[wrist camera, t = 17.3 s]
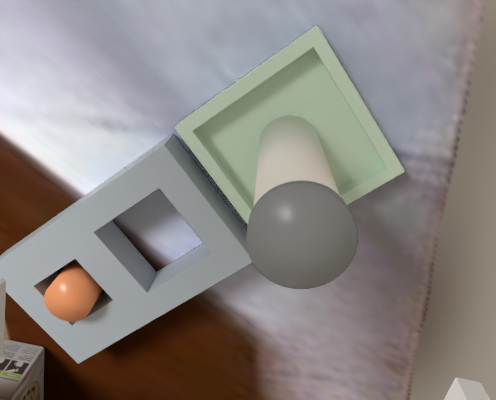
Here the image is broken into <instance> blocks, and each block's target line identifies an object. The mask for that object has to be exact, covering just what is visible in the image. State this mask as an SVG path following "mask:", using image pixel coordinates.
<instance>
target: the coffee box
mask: <svg viewBox="0 0 496 400" xmlns="http://www.w3.org/2000/svg"><path fill="white" fill-rule="evenodd" d="M43 395H44V347H42V346H37V345H32V344H27V343H22V342H17V341H12V340H7V339H4V348H3V357H2V358H1V359H0V400H43Z"/></svg>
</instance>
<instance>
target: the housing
mask: <svg viewBox="0 0 496 400" xmlns="http://www.w3.org/2000/svg"><path fill="white" fill-rule="evenodd" d="M158 188H160V190H161V191H162V192H163V193H164V195H165V196H166V197H167V198H168V200H169V201H170V202H171V203H172V205H173V206H174V207H175V208H176V210H177V211H178V212H179V213H180V215H181V216H182V217H183V218H184V220H185V221H186V222H187V223H188V225H189V226H190V227H191V228H192V230H193V231H194V232H195V233H196V235H197V236H198V237H199V238H200V240H201V241H202V242H203V244H201V245H199V246H198V247H196V248H195V249H193V250H191V251H190V252H188V253H186V254H185V255H183V256H182V257H180V258H178V259H177V260H175V261H173V262H172V263H170V264H168V265H167V266H165V267H164V268H162V269H160V270H159V271H157V272H156V271H155V270H154V268H153V267H152V266H151V265H150V264H149V263H148V261H147V260H146V259H145V258H144V257H143V256H142V255H141V253H140V252H139V251H138V250H137V249H136V248H135V246H134V245H133V244H132V243H131V242H130V241H129V239H128V238H127V237H126V236H125V235H124V234H123V232H122V231H121V230H120V229H119V228H118V227H117V225H116V224H115V223H114V222H113V221H112V219H114V218H115V217H117V216H118V215H120V214H121V213H123V212H124V211H126V210H127V209H129V208H130V207H132V206H133V205H135V204H136V203H138V202H139V201H141V200H142V199H144V198H145V197H147V196H148V195H150V194H151V193H153V192H154V191H155V190H157V189H158ZM246 235H247V230H246V229H245V228H244V226H243V225H242V224H241V222H240V221H239V220H238V218H237V217H236V216H235V214H234V213H233V212H232V210H231V209H230V208H229V206H228V205H227V204H226V202H225V201H224V200H223V199H222V197H221V196H220V195H219V193H218V192H217V191H216V189H215V188H214V187H213V185H212V184H211V183H210V181H209V180H208V179H207V177H206V176H205V175H204V173H203V172H202V171H201V169H200V168H199V167H198V166H197V164H196V163H195V162H194V160H193V159H192V158H191V156H190V155H189V154H188V152H187V151H186V150H185V148H184V147H183V146H182V144H181V143H180V142H179V140H178V139H177V138H176V137H175V135H174V134H172V135H170V136H169V137H168V138H166V139H165V140H163V141H162V142H161V143H159V144H158V145H156V146H155V147H153V148H152V149H151V150H149V151H148V152H146V153H145V154H143V155H142V156H141V157H139V158H138V159H136V160H135V161H133V162H132V163H131V164H129V165H128V166H126V167H125V168H124V169H122V170H121V171H119V172H118V173H116V174H115V175H114V176H112V177H111V178H109V179H108V180H106V181H105V182H104V183H102V184H101V185H99V186H98V187H96V188H95V189H94V190H92V191H91V192H89V193H88V194H86V195H85V196H84V197H82V198H81V199H79V200H78V201H77V202H75V203H74V204H72V205H71V206H69V207H68V208H67V209H65V210H64V211H62V212H61V213H59V214H58V215H57V216H55V217H54V218H52V219H51V220H49V221H48V222H47V223H45V224H44V225H42V226H41V227H39V228H38V229H37V230H35V231H34V232H32V233H31V234H30V235H28V236H27V237H25V238H24V239H22V240H21V241H20V242H18V243H17V244H15V245H14V246H12V247H11V248H10V249H8V250H7V251H5V252H4V253H3V254H2V255H1V256H0V278H1V279H6V292H7V293H8V294H9V295H10V296H11V297H12V298H13V299H14V300H15V301H16V302H17V303H18V304H19V305H20V306H21V307H22V308H23V309H24V310H25V311H26V312H27V313H28V314H29V315H30V316H31V317H32V318H33V319H34V320H35V321H36V322H37V323H38V324H39V325H40V326H41V327H42V328H43V329H44V330H45V331H46V332H47V333H48V334H49V335H50V336H51V337H52V338H53V339H54V340H55V341H56V342H57V343H58V344H59V345H60V346H61V347H62V348H63V349H64V350H65V351H66V352H67V353H68V354H69V355H70V356H71V357H72V358H73V359H74V360H75V361H76V362H77V363H78V364H79V363H80V362H82V361H84V360H85V359H87V358H89V357H91V356H92V355H94V354H96V353H98V352H99V351H101V350H103V349H104V348H106V347H108V346H110V345H111V344H113V343H115V342H116V341H118V340H120V339H122V338H123V337H125V336H127V335H129V334H130V333H132V332H134V331H135V330H137V329H139V328H141V327H142V326H144V325H146V324H147V323H149V322H151V321H153V320H154V319H156V318H158V317H160V316H161V315H163V314H165V313H166V312H168V311H170V310H172V309H173V308H175V307H177V306H178V305H180V304H182V303H184V302H185V301H187V300H189V299H190V298H192V297H194V296H196V295H197V294H199V293H201V292H203V291H204V290H206V289H208V288H209V287H211V286H213V285H215V284H216V283H218V282H220V281H221V280H223V279H225V278H227V277H228V276H230V275H232V274H234V273H235V272H237V271H239V270H240V269H242V268H244V267H246V266H247V265H249V264H251V263H252V261H251V259H250V257H249V254H248V250H247V244H246ZM74 259H76V260H77V261H78V262H79V263H80V264H81V266H82V267H83V268H84V269H85V270H86V271H87V272H88V273H89V274H90V275H91V276H92V278H93V279H94V280H95V281H96V282H97V283H98V284H99V285H100V286H101V287H102V288H103V290H104V291H105V292H104V293H102V294H101V295H99V297H98V299H97V300H96V302H95V304H94V305H93V307H92V309H91V310H90V312H89V314H88V315H87V316H86V317H85V318H84V319H82V320H79V321H74V322H69V321H64V320H61V319H59V318H57V317H55V316H54V315H53V314H51V313H50V311H49V310H48V309H47V307H46V305H45V302H44V295H45V292H46V290H47V289H48V287H49V286H50V285H51V284H52V282H53V281H54V280H55V279H56V277H57V276H58V275H59V274H58V273H57V272H56V271H57V270H59V269H60V268H62V267H63V266H65V265H66V264H68V263H69V262H71V261H72V260H74Z"/></svg>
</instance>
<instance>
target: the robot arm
mask: <svg viewBox="0 0 496 400" xmlns="http://www.w3.org/2000/svg"><path fill="white" fill-rule="evenodd" d="M5 292H6V279H1V278H0V359H1V358H2V357H3V348H4V320H5ZM444 400H490V398H489V397H488V395H487V393H486V391H485V389H484V388H483V386H482V384H481V383H480V382H476V381H471V380H466V379H462V378H457V377H456V378H455V380H454V382H453V383H452V385H451V387H450V389H449V391H448V393H447V395H446V396H445V398H444Z"/></svg>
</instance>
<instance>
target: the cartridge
mask: <svg viewBox="0 0 496 400" xmlns="http://www.w3.org/2000/svg"><path fill="white" fill-rule="evenodd" d="M357 243H358V233H357V227H356V224H355V221H354V219H353V216H352V214H351V211H350V209H349V207H348V205H347V204H346V202H345V201H344V199H343V198H342V197H341V196H340V194H339V191H338V189H337V186H336V183H335V181H334V178H333V175H332V172H331V170H330V167H329V164H328V162H327V159H326V156H325V154H324V151H323V148H322V146H321V143H320V140H319V138H318V135H317V132H316V130H315V129H314V127H313V126H312V125H311V124H310V123H309V122H308V121H306V120H305V119H303V118H301V117H298V116H293V115H287V116H281V117H278V118H276V119H274V120H273V121H271V122H270V123H269V124H268V125H267V126H266V127H265V128H264V130H263V132H262V134H261V137H260V141H259V152H258V163H257V173H256V184H255V195H254V206H253V209H252V211H251V213H250V216H249V220H248V226H247V235H246V244H247V250H248V254H249V257H250V259H251V261H252V263H253V264H254V266H255V267H256V269H257V270H258V271H259V272H260V273H261V274H262V275H263V276H264V277H266V278H267V279H268V280H270V281H272V282H274V283H276V284H278V285H281V286H284V287H288V288H294V289H309V288H314V287H318V286H321V285H324V284H326V283H329V282H330V281H332V280H334V279H335V278H337V277H338V276H339V275H341V274H342V273H343V272H344V271H345V270H346V268H347V267H348V266H349V264H350V263H351V261H352V260H353V257H354V255H355V252H356V249H357Z"/></svg>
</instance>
